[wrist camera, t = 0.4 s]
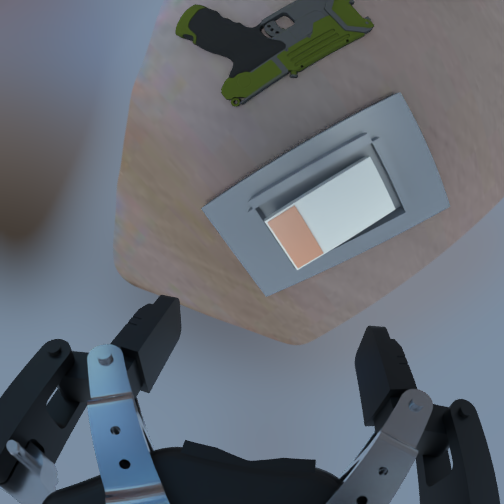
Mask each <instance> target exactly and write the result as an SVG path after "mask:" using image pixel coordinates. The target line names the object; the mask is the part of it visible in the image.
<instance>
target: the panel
mask: <svg viewBox="0 0 504 504" xmlns="http://www.w3.org/2000/svg"><path fill="white" fill-rule="evenodd" d="M365 156H369V157H371V159H372V161H373V163H374V165H375V167H376V169H377V171H378V173H379V175H380V177H381V179H382V181H383V183H384V185H385V187H386V189H387V191H388V194H389V196H390V198H391V200H392V202H393V205H394V207H395V210H394V211H392V212H391V213H389V214H388V215H386V216H384V217H383V218H381V219H380V220H378V221H377V222H375V223H374V224H372V225H370V226H369V227H367V228H366V229H364V230H363V231H361V232H359V233H358V234H356V235H355V236H353V237H351V238H350V239H348V240H347V241H345V242H343V243H342V244H340V245H338V246H337V247H335V248H334V249H332V250H330V251H329V252H327V253H325V254H324V255H322V256H320V257H319V258H317V259H315V260H314V261H312V262H310V263H309V264H307V265H305V266H304V267H302V268H300V269H299V270H296V268H295V267H294V265H293V264H292V262H291V261H290V259H289V258H288V256H287V254H286V253H285V251H284V250H283V248H282V247H281V246H280V244H279V243H278V241H277V240H276V238H275V237H274V235H273V234H272V232H271V231H270V229H269V228H268V226H267V225H266V223H265V222H264V218H266V217H267V216H269V215H271V214H272V213H274V212H275V211H277V210H279V209H280V208H282V207H283V206H285V205H287V204H288V203H290V202H291V201H293V200H295V199H296V198H298V197H299V196H301V195H303V194H304V193H306V192H307V191H309V190H311V189H312V188H314V187H315V186H317V185H319V184H320V183H322V182H324V181H325V180H327V179H328V178H330V177H332V176H333V175H335V174H337V173H338V172H340V171H342V170H343V169H345V168H347V167H348V166H350V165H352V164H353V163H355V162H357V161H358V160H360V159H362V158H363V157H365ZM448 207H450V204H449V201H448V198H447V195H446V192H445V189H444V186H443V183H442V181H441V178H440V175H439V173H438V170H437V167H436V165H435V162H434V160H433V158H432V155H431V153H430V150H429V148H428V146H427V144H426V141H425V139H424V137H423V135H422V133H421V131H420V129H419V127H418V124H417V122H416V120H415V119H414V117H413V115H412V113H411V111H410V109H409V107H408V105H407V103H406V102H405V100H404V98H403V96H402V95H401V93H400V92H399V93H395V94H393V95H391V96H389V97H387V98H385V99H383V100H381V101H379V102H377V103H375V104H373V105H371V106H369V107H367V108H365V109H363V110H361V111H359V112H357V113H355V114H353V115H351V116H350V117H348V118H346V119H344V120H342V121H340V122H338V123H337V124H335V125H333V126H331V127H329V128H328V129H326V130H324V131H322V132H320V133H319V134H317V135H315V136H313V137H312V138H310V139H308V140H306V141H305V142H303V143H301V144H300V145H298V146H296V147H295V148H293V149H291V150H290V151H288V152H286V153H285V154H283V155H281V156H280V157H278V158H276V159H275V160H273V161H271V162H270V163H268V164H267V165H265V166H263V167H262V168H260V169H259V170H257V171H255V172H254V173H252V174H251V175H249V176H248V177H246V178H245V179H243V180H241V181H240V182H238V183H237V184H235V185H234V186H232V187H231V188H229V189H228V190H226V191H225V192H223V193H222V194H220V195H219V196H217V197H216V198H214V199H213V200H211V201H210V202H209V203H207V204H206V205H205V206H204V207H203V208H201V209H202V211H203V212H204V213H205V215H206V216H207V217H208V219H209V220H210V222H211V223H212V224H213V226H214V227H215V228H216V230H217V231H218V232H219V234H220V235H221V237H222V238H223V239H224V241H225V242H226V243H227V245H228V246H229V247H230V249H231V250H232V251H233V253H234V254H235V256H236V257H237V258H238V260H239V261H240V262H241V264H242V265H243V266H244V268H245V269H246V270H247V272H248V273H249V274H250V276H251V277H252V278H253V280H254V281H255V282H256V284H257V285H258V286H259V288H260V289H261V290H262V292H263V293H264V294H265V296H266V297H267V296H269V295H272V294H274V293H276V292H278V291H281V290H283V289H285V288H287V287H290V286H292V285H294V284H296V283H299V282H301V281H303V280H305V279H307V278H310V277H312V276H314V275H316V274H318V273H320V272H323V271H325V270H327V269H329V268H331V267H333V266H335V265H337V264H340V263H342V262H344V261H346V260H348V259H350V258H352V257H354V256H356V255H358V254H360V253H362V252H364V251H366V250H368V249H370V248H372V247H374V246H376V245H378V244H380V243H382V242H384V241H386V240H388V239H390V238H392V237H394V236H396V235H398V234H400V233H402V232H404V231H406V230H408V229H409V228H411V227H413V226H415V225H417V224H419V223H421V222H423V221H424V220H426V219H428V218H430V217H432V216H434V215H435V214H437V213H439V212H441V211H443V210H445V209H446V208H448Z"/></svg>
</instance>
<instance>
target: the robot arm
mask: <svg viewBox="0 0 504 504" xmlns="http://www.w3.org/2000/svg"><path fill="white" fill-rule="evenodd" d="M180 334H181V315H180V301H179V299H178V298H175V297H170V296H166V295H160V296H159V298H158V299H157V300H156V301H155V303H154V304H147V305H145V306H143V307H142V308H140V309H139V310H138V311H137V312H136V313H135V314H134V316H133V318H131V319H130V320H129V322H128V324H126V325H125V327H124V328H123V329H122V330H121V331H120V333H119V334H118V335H117V336H116V337H115V339H114V340H113V341H112V342H111V344H103V345H99V346H97V347H95V348H93V349H92V350H91V351H90V352H89V353H85V352H74V351H72V350H71V347H70V345H69V343H68V342H66V341H64V340H62V339H54V340H51V341H48V342H47V343H45V344H44V345H43V346H42V348H41V349H40V350H39V351H38V352H37V353H36V354H35V355H34V357H33V358H32V359H31V360H30V361H29V363H28V364H27V365H26V366H25V367H24V369H23V370H22V371H21V372H20V373H19V375H18V376H17V377H16V378H15V380H14V381H13V382H12V383H11V385H10V386H9V387H8V389H7V390H6V391H5V392H4V394H3V395H2V396H1V398H0V489H2V490H3V491H5V492H6V493H8V494H10V495H11V496H12V497H14V498H15V499H16V500H17V501H18V502H19V503H21V504H389V503H390V502H391V500H392V498H393V497H394V496H395V494H396V492H397V491H398V489H399V487H400V486H401V484H402V482H403V481H404V479H405V477H406V476H407V474H408V472H409V470H410V468H411V466H412V464H413V463H414V461H415V459H416V464H417V473H418V482H419V492H420V493H419V494H420V504H500V500H499V493H498V487H497V482H496V477H495V472H494V468H493V464H492V460H491V456H490V452H489V449H488V445H487V442H486V438H485V435H484V432H483V429H482V426H481V423H480V420H479V417H478V414H477V411H476V409H475V407H474V406H473V405H472V404H471V403H470V402H469V401H467V400H464V399H458V400H455V401H454V402H453V403H452V404H451V406H450V407H444V406H439V405H435V404H433V403H432V400H431V398H430V397H429V396H428V395H427V394H426V393H425V392H423V391H421V390H418V389H417V387H416V384H415V381H414V378H413V375H412V373H411V370H410V367H409V365H408V362H407V360H406V358H405V354H404V352H403V349H402V347H401V346H400V345H399V344H398V343H397V341H395V339H390V337H389V334H388V332H387V329H386V328H385V327H379V326H368V327H367V328H366V331H365V333H364V336H363V338H362V341H361V343H360V346H359V348H358V350H357V353H356V357H355V369H356V374H357V380H358V385H359V391H360V397H361V403H362V409H363V417H364V424H365V426H375V432H374V433H373V434H372V436H371V437H370V439H369V440H368V441H367V443H366V444H365V445H364V447H363V448H362V449H361V451H360V452H359V454H358V455H357V456H356V457H355V459H354V460H353V461H352V462H351V464H350V465H349V466H348V467H347V468H346V470H345V471H344V472H343V473H342V474H341V475H340V476H339V477H336V476H334V475H333V474H331V473H329V472H327V471H325V470H322V469H319V468H315V461H316V460H308V459H307V460H306V459H291V458H279V459H269V460H259V461H248V460H245V459H242V458H240V457H237V456H235V455H232V454H230V453H227V452H225V451H223V450H220V449H218V448H215V447H211V446H206V445H202V444H198V443H194V442H190V441H187V440H185V442H184V445H183V447H169V448H162V449H158V450H154V447H153V444H152V442H151V439H150V437H149V434H148V431H147V429H146V425H145V422H144V419H143V416H142V413H141V410H140V406H139V403H138V399H137V397H136V396H137V395H138V393H139V391H140V390H141V391H144V392H147V393H150V391H151V389H152V387H153V385H154V383H155V382H156V380H157V378H158V376H159V374H160V372H161V370H162V369H163V367H164V365H165V363H166V361H167V360H168V358H169V356H170V354H171V352H172V351H173V349H174V347H175V345H176V343H177V342H178V340H179V337H180ZM56 387H57V388H58V389H57V391H56V392H55V394H54V395H53V397H52V398H51V400H50V401H49V403H48V404H47V406H46V403H47V401H48V399H49V397H50V396H51V395H52V393H53V392H54V390H55V389H56ZM86 406H87V409H88V416H89V423H90V429H91V435H92V440H93V445H94V450H95V454H96V459H97V463H98V467H99V471H100V475H99V476H96V477H93V478H91V479H88V480H86V481H83V482H80V483H78V484H74V485H72V486H69V487H66V488H63V489H59V490H56V485H57V484H58V478H57V469H56V466H55V465H54V464H55V462H56V460H57V458H58V456H59V455H60V453H61V451H62V449H63V447H64V445H65V443H66V441H67V439H68V438H69V436H70V434H71V432H72V431H73V429H74V427H75V425H76V423H77V422H78V420H79V418H80V416H81V415H82V413H83V411H84V410H85V408H86ZM448 448H450V450H451V455H452V459H453V468H452V470H451V464H450V459H449V455H448Z"/></svg>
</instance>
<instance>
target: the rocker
mask: <svg viewBox="0 0 504 504" xmlns="http://www.w3.org/2000/svg"><path fill="white" fill-rule="evenodd" d="M394 210H395V207H394V205H393V202H392V200H391V198H390V196H389V194H388V191H387V189H386V187H385V185H384V183H383V181H382V179H381V177H380V175H379V173H378V171H377V169H376V167H375V165H374V163H373V161H372V159H371V157H369V156H365V157H363V158H362V159H360V160H358V161H357V162H355V163H353V164H352V165H350V166H348V167H347V168H345V169H343V170H342V171H340V172H338V173H337V174H335V175H333V176H332V177H330V178H328V179H327V180H325V181H324V182H322V183H320V184H319V185H317V186H315V187H314V188H312V189H311V190H309V191H307V192H306V193H304V194H303V195H301V196H299V197H298V198H296V199H295V200H293V201H291V202H290V203H288V204H287V205H285V206H283V207H282V208H280V209H279V210H277V211H275V212H274V213H272V214H271V215H269V216H267V217H266V218H264V222H265V223H266V225H267V226H268V228H269V229H270V231H271V232H272V234H273V235H274V237H275V238H276V240H277V241H278V243H279V244H280V246H281V247H282V248H283V250H284V251H285V253H286V254H287V256H288V258H289V259H290V261H291V262H292V264H293V265H294V267H295V268H296V270H299V269H300V268H302V267H304V266H305V265H307V264H309V263H310V262H312V261H314V260H315V259H317V258H319V257H320V256H322V255H324V254H325V253H327V252H329V251H330V250H332V249H334V248H335V247H337V246H338V245H340V244H342V243H343V242H345V241H347V240H348V239H350V238H351V237H353V236H355V235H356V234H358V233H359V232H361V231H363V230H364V229H366V228H367V227H369V226H370V225H372V224H374V223H375V222H377V221H378V220H380V219H381V218H383V217H384V216H386V215H388V214H389V213H391V212H392V211H394Z"/></svg>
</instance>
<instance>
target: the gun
mask: <svg viewBox="0 0 504 504" xmlns="http://www.w3.org/2000/svg"><path fill="white" fill-rule="evenodd" d="M350 4H351V5H353V4H354V1H353V0H297V1H295V2H293V3H291V4H289V5H287V6H286V7H284V8H282V9H280V10H278V11H277V12H275V13H273V14H272V15H270V16H268V17H267V18H265V19H264V20H262V22H261V23H260V24H259V25H258V26H256V27H254V28H248V27H245V26H243V25H242V24H241V23H235V22H232V21H231V20H230V19H227V18H222V17H221V16H220V14H219V13H218V12H217V11H214V10H211V9H208V8H206V7H204V6H201V5H193V6H192V7H190V8H189V9H187V10H186V11H185V12H184V14H183V15H182V17H181V18H180V20H179V22H178V24H177V27H176V35H178V36H180V37H182V38H187V39H189V40H192V41H193V43H194V44H195V45H197V46H199V47H201V48H203V49H204V50H207V51H209V52H212V53H215V54H219V55H222V56H225V57H228V58H229V59H231V60H232V61H233V68H232V70H231V72H230V75H229V78H228V79H227V80H226V81H225V82H224V85H223V87H222V89H221V90H222V92H221V93H222V94H223V96H224V97H225V98H226V99H227V100H231V104H232V105H233V106H236V107H237V106H239V105H240V104H244V103H246V102H247V101H249V100H250V99H251V98H253V97H254V96H256V95H257V94H258V93H260V92H261V91H263V90H264V89H266V88H267V87H269V86H270V85H272V84H273V83H275V82H276V81H278V80H279V79H281V78H282V77H284V76H285V75H287V74H288V73H289V72H291V75H290V77H292V78H297V77H298V75H297V72H300V71H302V70H303V69H305V68H306V67H308V66H310V65H311V64H313V63H315V62H316V61H318V60H320V59H322V58H323V57H325V56H327V55H329V54H330V53H332V52H334V51H336V50H338V49H340V48H341V47H343V46H345V45H347V44H349V43H351V42H353V41H355V40H357V39H359V38H361V37H363V36H364V35H365V34H366V33H368V32H370V31H371V30H372V28H373V27H374V24H373V23H372V22H371V19H370V18H369V17H368V16H367V17H366V18H365V19H364V18H362V17H361V16H360V14H359V13H358V12H357V11H356V10H355V9H354V8H353V7H352V6H351V5H350ZM282 16H288V17H289V18H290V19H291V20H292V21H293V22H294V23H295V24H294V25H293V26H291V27H289V28H287V29H286V30H285V29H284V28H282V29H281V28H280V27H278V25H277V24H276V22H275V20H277V19H278V18H280V17H282ZM269 26H271V27H269ZM263 27H264V28H265V31H266V33H267V34H268V35H269V36H271V37H272V38H267V37H266V36H264V35H263V34H262V33H261V29H262V28H263ZM271 30H273V31H271ZM277 32H279V33H278V34H276V33H277ZM302 67H303V68H302ZM238 98H245V99H244V100H242V101H241V100H240V99H238ZM235 100H237V101H238V103H237V104H235V103H234V101H235Z"/></svg>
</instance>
